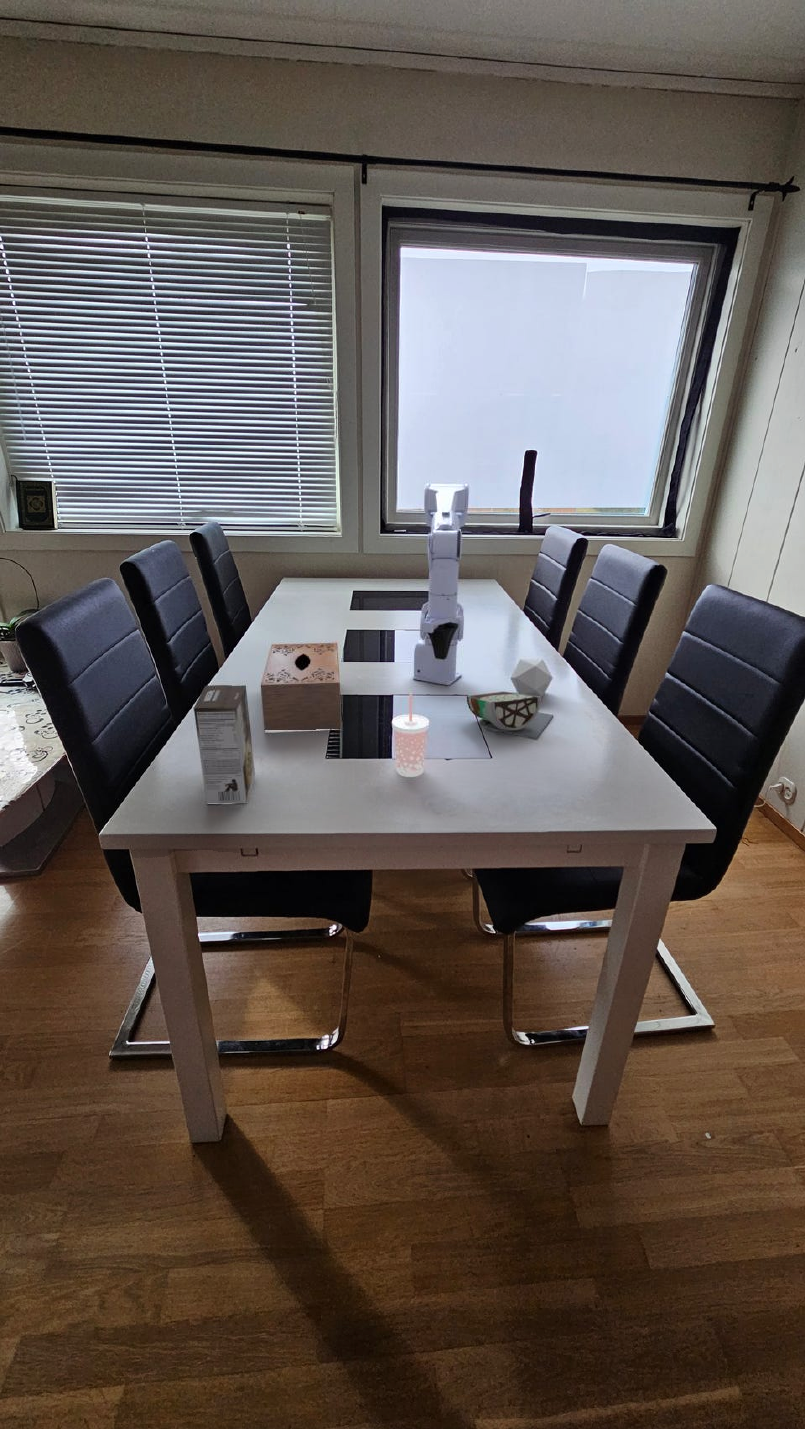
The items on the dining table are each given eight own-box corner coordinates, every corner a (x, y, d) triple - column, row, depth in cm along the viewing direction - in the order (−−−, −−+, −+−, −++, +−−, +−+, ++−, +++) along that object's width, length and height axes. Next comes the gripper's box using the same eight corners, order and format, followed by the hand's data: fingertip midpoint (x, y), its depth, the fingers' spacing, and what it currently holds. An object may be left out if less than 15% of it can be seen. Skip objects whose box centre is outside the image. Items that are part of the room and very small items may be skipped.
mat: (486, 728, 120) (486, 726, 120) (505, 707, 129) (506, 705, 129) (536, 739, 116) (536, 737, 115) (553, 716, 125) (553, 714, 125)
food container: (460, 727, 122) (491, 736, 113) (460, 696, 121) (491, 703, 112) (509, 720, 128) (542, 728, 119) (509, 690, 126) (543, 696, 118)
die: (540, 707, 131) (564, 669, 131) (506, 686, 131) (530, 647, 131) (531, 706, 140) (554, 670, 139) (499, 686, 139) (522, 650, 139)
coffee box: (216, 776, 101) (204, 684, 95) (256, 775, 102) (247, 683, 96) (204, 806, 93) (191, 707, 87) (248, 804, 94) (238, 706, 87)
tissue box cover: (274, 686, 141) (271, 644, 137) (338, 684, 142) (337, 642, 138) (264, 734, 117) (260, 685, 113) (341, 731, 119) (339, 682, 115)
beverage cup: (430, 778, 101) (432, 699, 96) (393, 779, 101) (393, 700, 95) (425, 761, 107) (427, 685, 101) (390, 762, 106) (390, 686, 101)
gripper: (447, 602, 115) (444, 671, 120) (475, 588, 127) (471, 651, 132) (413, 598, 118) (412, 665, 123) (443, 584, 130) (441, 647, 135)
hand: (440, 658), depth 128 cm, fingers closed
